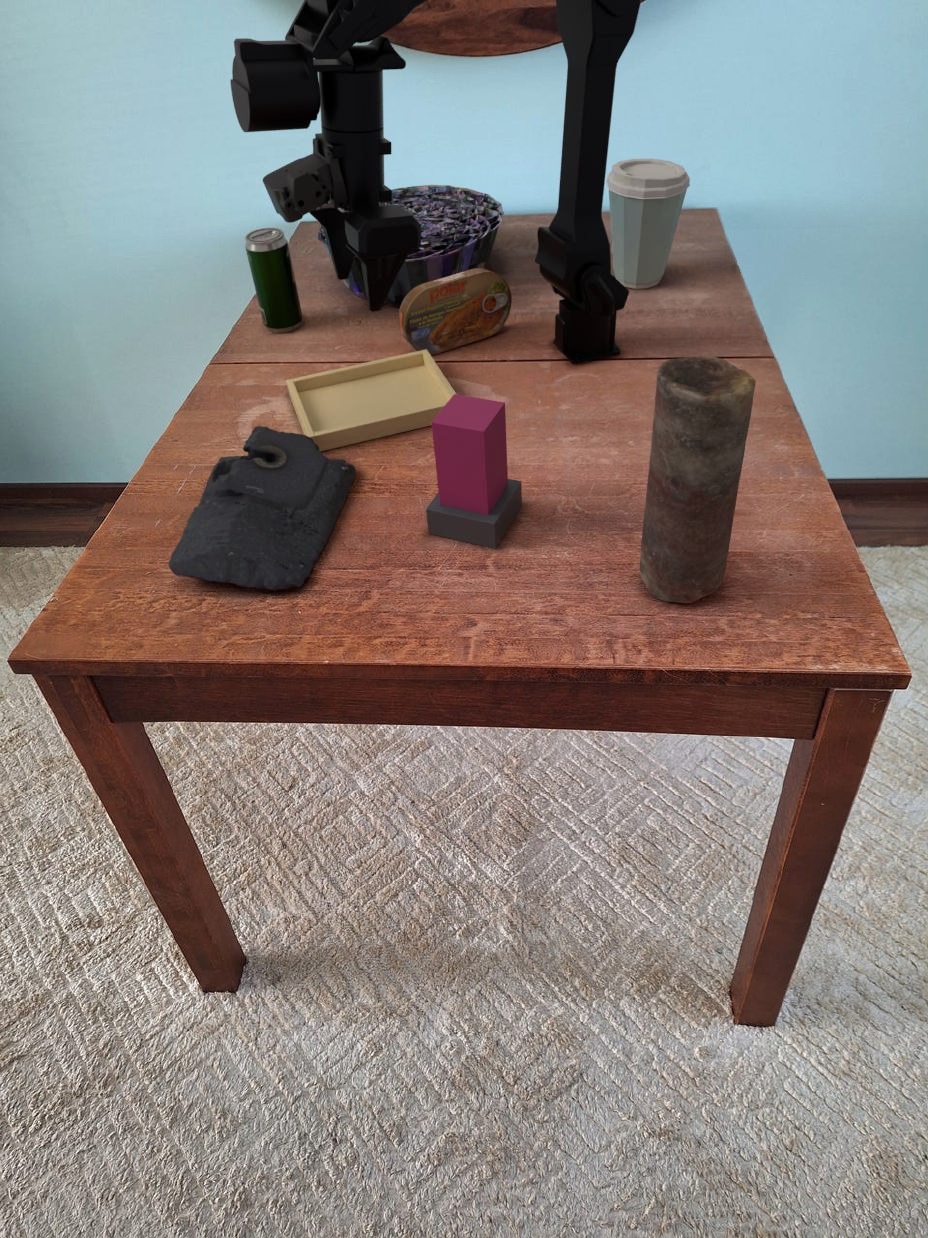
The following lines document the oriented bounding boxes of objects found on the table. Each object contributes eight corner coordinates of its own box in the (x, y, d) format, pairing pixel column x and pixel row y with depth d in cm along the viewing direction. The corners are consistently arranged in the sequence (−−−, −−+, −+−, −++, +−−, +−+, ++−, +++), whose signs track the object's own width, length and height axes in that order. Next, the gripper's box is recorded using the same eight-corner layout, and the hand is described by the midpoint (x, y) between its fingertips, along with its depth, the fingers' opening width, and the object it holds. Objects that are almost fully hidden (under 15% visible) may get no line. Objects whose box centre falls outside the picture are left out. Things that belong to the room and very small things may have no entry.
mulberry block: (460, 475, 85) (454, 393, 79) (508, 484, 83) (505, 402, 77) (439, 504, 82) (431, 421, 75) (488, 515, 80) (484, 431, 74)
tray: (428, 364, 108) (426, 348, 106) (463, 417, 98) (461, 401, 97) (289, 395, 104) (285, 379, 103) (311, 453, 95) (307, 437, 93)
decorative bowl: (295, 308, 126) (277, 240, 118) (400, 226, 140) (390, 161, 133) (443, 343, 115) (433, 271, 108) (540, 250, 130) (537, 181, 122)
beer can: (274, 337, 115) (253, 246, 107) (258, 323, 119) (236, 234, 110) (310, 325, 117) (292, 235, 109) (293, 312, 121) (274, 223, 112)
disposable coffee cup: (631, 258, 126) (639, 145, 116) (694, 276, 121) (709, 160, 110) (585, 283, 121) (590, 168, 111) (649, 303, 116) (660, 184, 105)
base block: (457, 492, 88) (455, 468, 86) (522, 506, 86) (521, 481, 84) (428, 533, 84) (425, 508, 81) (495, 548, 81) (494, 523, 79)
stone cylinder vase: (629, 553, 80) (647, 351, 66) (708, 545, 80) (743, 342, 66) (649, 610, 74) (673, 403, 60) (733, 601, 74) (778, 393, 60)
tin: (409, 362, 108) (402, 297, 102) (399, 352, 110) (391, 287, 104) (514, 330, 113) (512, 265, 107) (502, 321, 115) (500, 257, 109)
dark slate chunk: (147, 590, 80) (130, 551, 77) (229, 456, 96) (217, 418, 92) (305, 600, 78) (294, 560, 74) (363, 461, 93) (356, 422, 90)
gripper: (238, 107, 83) (256, 272, 93) (300, 157, 71) (313, 341, 81) (348, 102, 87) (354, 261, 97) (424, 148, 75) (422, 324, 85)
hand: (358, 294), depth 90 cm, fingers open, 9 cm apart
